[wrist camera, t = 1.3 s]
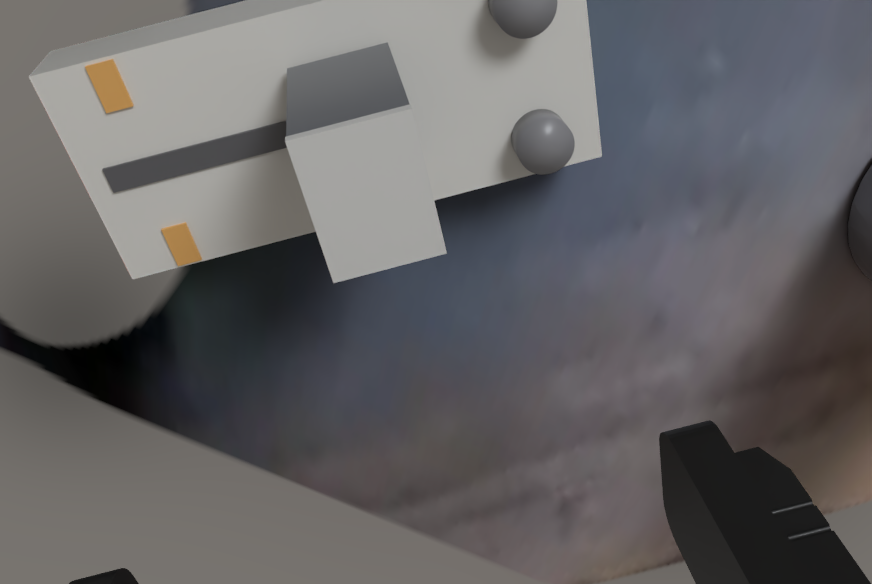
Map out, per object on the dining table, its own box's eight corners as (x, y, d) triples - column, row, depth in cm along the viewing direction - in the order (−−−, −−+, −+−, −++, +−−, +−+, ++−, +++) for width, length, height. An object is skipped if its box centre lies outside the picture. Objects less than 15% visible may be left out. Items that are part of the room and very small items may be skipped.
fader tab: (388, 41, 23) (412, 108, 19) (418, 165, 26) (446, 253, 21) (286, 67, 23) (285, 141, 19) (325, 190, 26) (333, 283, 21)
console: (555, -80, 25) (590, -60, 22) (579, 128, 29) (612, 168, 26) (50, 51, 25) (18, 88, 22) (143, 242, 29) (127, 296, 26)
